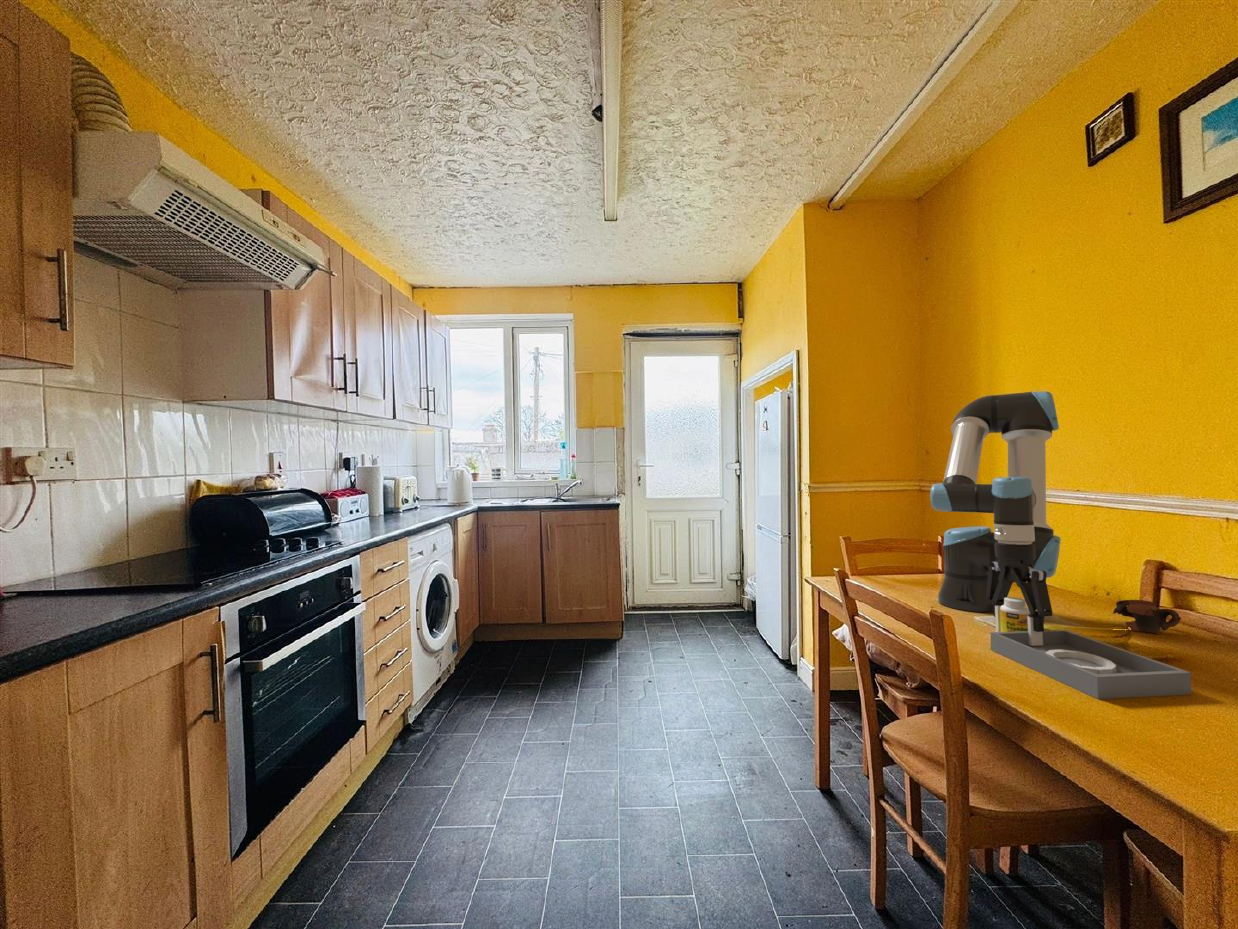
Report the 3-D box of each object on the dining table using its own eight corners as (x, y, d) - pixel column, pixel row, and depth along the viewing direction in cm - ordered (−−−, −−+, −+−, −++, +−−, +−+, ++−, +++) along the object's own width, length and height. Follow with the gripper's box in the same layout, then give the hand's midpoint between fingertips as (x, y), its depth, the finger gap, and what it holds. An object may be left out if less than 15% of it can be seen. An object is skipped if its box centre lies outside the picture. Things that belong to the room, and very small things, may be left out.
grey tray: (990, 650, 113) (990, 632, 113) (1065, 646, 114) (1065, 629, 114) (1097, 699, 89) (1097, 677, 89) (1191, 694, 90) (1190, 672, 90)
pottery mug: (1111, 630, 126) (1104, 598, 130) (1127, 641, 130) (1120, 609, 133) (1179, 630, 116) (1170, 595, 120) (1194, 642, 120) (1185, 608, 124)
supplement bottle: (1003, 644, 117) (1001, 600, 117) (998, 636, 122) (997, 595, 122) (1033, 648, 114) (1032, 603, 114) (1027, 640, 119) (1026, 597, 119)
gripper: (965, 537, 128) (969, 626, 127) (1039, 548, 107) (1044, 655, 106) (993, 536, 128) (997, 624, 128) (1072, 547, 107) (1077, 653, 107)
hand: (1018, 638), depth 117 cm, fingers open, 8 cm apart
